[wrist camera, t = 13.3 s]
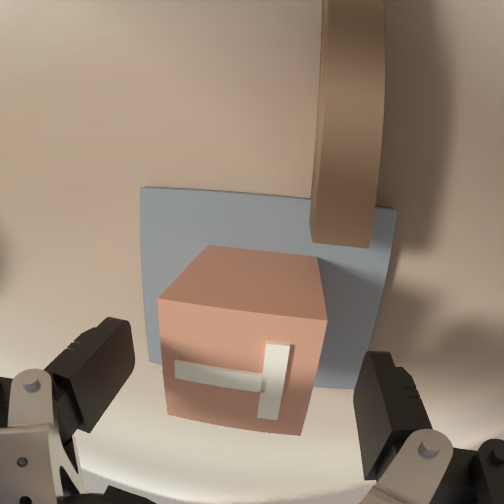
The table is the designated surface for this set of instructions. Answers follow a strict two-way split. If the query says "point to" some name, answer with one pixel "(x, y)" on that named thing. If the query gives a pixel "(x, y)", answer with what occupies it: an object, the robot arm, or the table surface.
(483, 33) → the table surface
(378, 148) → the walnut screen
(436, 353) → the table surface
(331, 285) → the slate mat
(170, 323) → the terracotta block
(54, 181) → the table surface
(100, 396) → the robot arm
